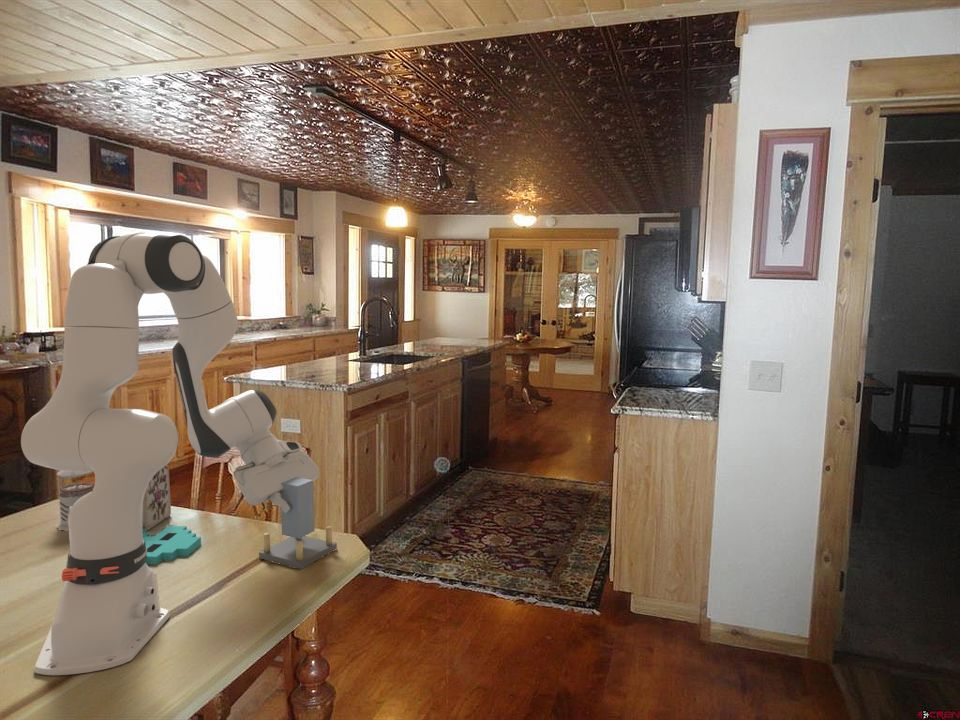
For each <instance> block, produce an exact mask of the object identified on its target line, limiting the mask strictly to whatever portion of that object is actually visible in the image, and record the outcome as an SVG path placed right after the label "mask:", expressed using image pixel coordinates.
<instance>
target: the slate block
mask: <svg viewBox="0 0 960 720" xmlns="http://www.w3.org/2000/svg"><path fill="white" fill-rule="evenodd" d="M281 484H282V485H283V487H284V489H283V490H281V498H282V499H284V500H285V501H286V502H288V501H290V502H291V504H292V505H293V509H291V511H289V512H287V513H284V511H283V510H282V509H281V508H280V514H281V515H280V516H281V518H280V519H281V535H282V536H286V537H289V538H290V537H294V538H298V539H299V538H301V537H303V536H307V535H310V534H312V533H313V532H315V507H314V505H315V503H314V482H313V480H310V479H304V478H299V477H295V478H293V479H290V480H287V481H285V482H282V483H281Z"/></svg>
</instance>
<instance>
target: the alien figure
mask: <svg viewBox="0 0 960 720" xmlns="http://www.w3.org/2000/svg"><path fill="white" fill-rule="evenodd" d="M187 527H188V526H187V525H168V526H166V527H165V528H164V529H163V530H161V531H160V532H158V533H157V534H155V535H154V536H153V535H151V532H147V531H146V529H142V530H143V539H144V540H145V542H146V547H147V561H146V564H147V565H158V564H159V563H161V562H162V561H173V560H175V559H176V558H177V557H188V556H190V554H192V553H193V552H194V551H195V550H197V548H199V547H200V546H201V545H202V537H200V536H197V532H196V533H193V532H192V529H188V528H187Z"/></svg>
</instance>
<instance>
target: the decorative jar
mask: <svg viewBox="0 0 960 720" xmlns="http://www.w3.org/2000/svg"><path fill="white" fill-rule="evenodd" d="M170 484H171V483H170V471H169V466H168V464H167V465H166V466H164V467H163V468H162V469H160V470H159V471H158V472H157V473H156V474H155V475H154V476H153V478H152V479H151V481H150V483H149V484H148V486H147V489H146V491H145V495H144V499H143V508H142V529H146V532H148V531H149V530H151V529H152V528H154V527H155V526H157V525H159V524H160V523H161V522H163V521H164V520H166V519H167V518H169V517H170V516H171V514H172V513H171V511H172V508H171V507H172V506H171V505H172V504H171V503H172V502H171V485H170Z"/></svg>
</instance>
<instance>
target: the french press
mask: <svg viewBox="0 0 960 720" xmlns="http://www.w3.org/2000/svg"><path fill="white" fill-rule="evenodd" d="M93 473H94V472H93V471H61V470H58V472H57V473H56V475H57V476H58V477H60V478H61V479H60V489H59V491H60V493H59V494H58V500H59V511H60V512H59V515H60V519H59V520H60V521H59V523H58V524H57V525H58V526H57V525H56V527H58V528H59V529H61V530H69V523H68V514H69V511H70V509H71V507H72V506H73V504H74V503H75V502H76V501H77V500H78V499H80V498H81V497H82V496H84V495H86V494H88V493H89V492H91V491H93V488H94V484H93V483H92V482H78V477H85V476H89V475H90V474H93ZM74 478H75V483H71V484H70V480H73V479H74ZM63 479H65V480H66V481H67V484H66V485H64V486H63ZM61 530H60V531H61Z"/></svg>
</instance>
